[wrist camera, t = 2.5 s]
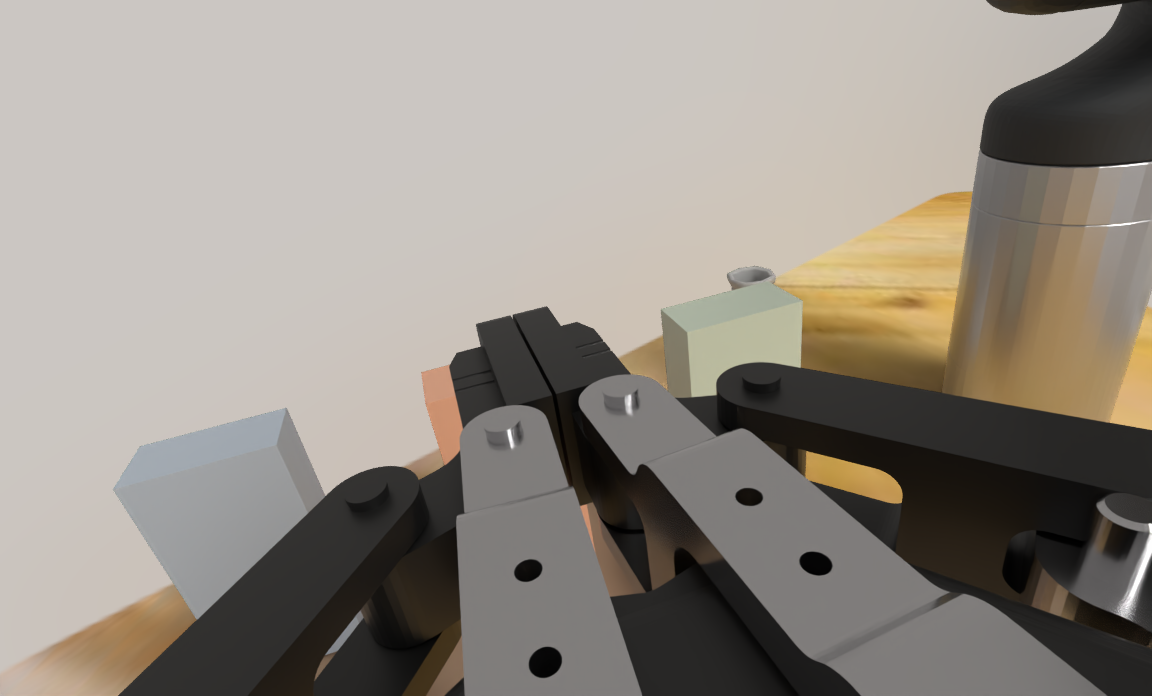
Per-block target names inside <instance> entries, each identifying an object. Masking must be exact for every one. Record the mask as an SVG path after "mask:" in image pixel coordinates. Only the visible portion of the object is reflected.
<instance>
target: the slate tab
mask: <svg viewBox="0 0 1152 696" xmlns="http://www.w3.org/2000/svg"><path fill="white" fill-rule="evenodd" d="M113 491H114V492H115V493H116V495H117V497H118V498H119V500H120V501H121V503H122V504H123V506H124V508H125V509H126V511H127V512H128V514H129V515H130V517H131V518H132V520H133V521H134V523H135V524H136V526H137V528H138V529H139V531H140V532H141V534H142V535H143V537H144V539H145V540H146V542H147V543H148V545H149V546H150V548H151V549H152V551H153V552H154V554H155V555H156V557H157V559H158V560H159V562H160V563H161V565H162V566H163V568H164V569H165V571H166V572H167V574H168V576H169V577H170V579H171V580H172V582H173V583H174V585H175V587H176V588H177V590H178V591H179V593H180V594H181V596H182V597H183V599H184V600H185V602H186V604H187V605H188V607H189V608H190V610H191V611H192V613H193V614H194V616H195V618H196V619H198V618H199V617H200V616H202V615H203V614H204V613H205V612H206V611H207V610H208V609H209V608H210V607H211V606H212V605H213V604H214V603H215V602H216V601H217V600H218V599H219V598H220V597H221V596H222V595H223V594H224V593H225V592H227V591H228V590H229V589H230V588H231V587H232V586H233V585H234V584H235V583H236V582H237V581H238V580H239V579H240V578H241V577H242V576H243V575H244V574H245V573H246V572H247V571H248V570H249V569H250V568H251V567H253V566H254V565H255V564H256V563H257V562H258V561H259V560H260V559H261V558H262V557H263V556H264V555H265V554H266V553H267V552H268V551H269V550H270V549H271V548H272V547H273V546H274V545H275V544H276V543H277V542H279V541H280V540H281V539H282V538H283V537H284V536H285V535H286V534H287V533H288V532H289V531H290V530H291V529H292V528H293V527H294V526H295V525H296V524H297V523H298V522H299V521H300V520H301V519H302V518H304V517H305V516H306V515H307V514H308V513H309V512H310V511H311V510H312V509H313V508H314V507H315V506H316V505H317V504H318V503H319V502H320V501H321V500H322V499H323V498H324V497H325V494H324V492H323V490H322V487H321V485H320V483H319V481H318V479H317V476H316V474H315V472H314V469H313V467H312V465H311V463H310V460H309V458H308V456H307V453H306V451H305V449H304V446H303V444H302V442H301V440H300V437H299V435H298V433H297V431H296V428H295V426H294V424H293V421H292V419H291V417H290V415H289V412H288V410H287V408H284V409H281V410H277V411H273V412H269V413H265V414H261V415H258V416H254V417H250V418H246V419H242V420H239V421H235V422H231V423H227V424H223V425H220V426H216V427H212V428H208V429H204V430H201V431H197V432H193V433H189V434H186V435H182V436H178V437H174V438H170V439H166V440H163V441H159V442H155V443H151V444H147V445H144V446H140V447H139V449H138V450H137V452H136V454H135V455H134V457H133V458H132V460H131V462H130V463H129V465H128V466H127V468H126V470H125V471H124V473H123V474H122V476H121V477H120V479H119V481H118V482H117V484H116V486H115V487H114V489H113ZM363 618H364V617H363V615H362V613H361V610H360V611H359V613H358V614H357V615H356V616H355V618H354V619H353V620H352V621H351V623H350V624H349V625H348V626H347V628H346V629H345V630H344V632H343V633H342V634H341V635H340V637H339V638H338V639H337V640H336V642H335V643H334V644H333V645H332V647H331V648H330V649H329V650H328V652H327V653H326V655H327V654H330V653H333V652H336V651H338V650H339V649H340V647H341V646H342V645H343V643H344V642H345V641H346V640H347V638H348V637H349V636H350V634H351V633H352V632H353V631H354V629H355V628H356V627H357V625H358V624H359V623H360V622H361V620H362V619H363Z"/></svg>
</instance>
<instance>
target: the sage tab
mask: <svg viewBox="0 0 1152 696" xmlns="http://www.w3.org/2000/svg"><path fill="white" fill-rule="evenodd" d="M802 307H803V301H802V300H800V299H799V298H797V297H795V296H793V295H791V294H790V293H788V292H786V291H784V290H782V289H781V288H779V287H777V286H775V285H774V284H772V283H770V282H768V281H766V282H762V283H759V284H755V285H751V286H747V287H743V288H740V289H736V290H732V291H729V292H724V293H721V294H717V295H714V296H710V297H706V298H702V299H698V300H694V301H691V302H687V303H683V304H679V305H675V306H671V307H668V308H664V309H661V315H662V316H661V317H662V327H663V339H664V351H665V362H666V373H667V384H668V392H669V393H670V394H671V395H672V396H673V397H674V398H688V397H700V396H711V395H717V394H716V382H717V379H718V377H719V376H720V375H721V374H722V373H723V372H725V371H726V370H728V369H730V368H732V367H734V366H738V365H741V364H746V363H753V362H769V363H777V364H782V365H788V366H794V367H799V368H801V341H802Z"/></svg>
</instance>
